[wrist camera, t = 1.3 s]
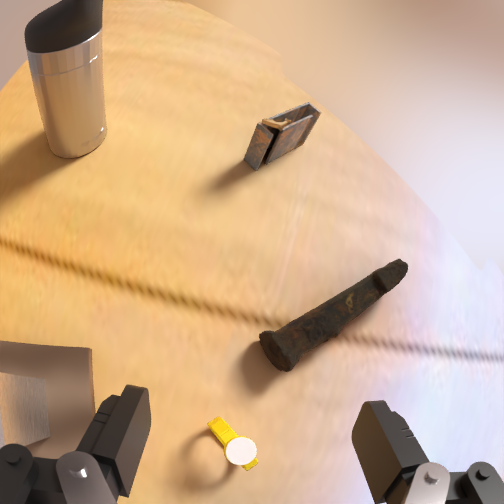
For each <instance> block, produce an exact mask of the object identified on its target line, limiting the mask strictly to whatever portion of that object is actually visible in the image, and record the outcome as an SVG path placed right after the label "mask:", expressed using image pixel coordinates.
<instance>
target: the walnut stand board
mask: <svg viewBox="0 0 504 504" xmlns="http://www.w3.org/2000/svg"><path fill="white" fill-rule="evenodd" d="M0 372H1V373H6V374H12V375H18V376H25V377H32V378H40V379H45V386H46V401H47V412H48V422H49V430H50V437H48V438H45V439H42V440H40V441H37V442H34V443H31V444H29V445H26V446H25V447H26V448H27V449H28V450H29V451H30V452H31V454H32V456H33V457H41V458H49V459H59V458H60V457H61V456H62V455H64V454H65V453H68V452H72V451H75V450H76V448H77V447H78V445H79V443H80V441H81V439H82V438H83V436H84V434H85V432H86V430H87V428H88V427H89V425H90V423H91V421H93V418H94V416H95V414H96V413H95V402H94V389H93V373H92V349H90V348H82V347H64V346H49V345H37V344H26V343H16V342H7V341H0Z"/></svg>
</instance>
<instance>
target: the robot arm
mask: <svg viewBox="0 0 504 504" xmlns="http://www.w3.org/2000/svg"><path fill="white" fill-rule="evenodd" d="M102 7H103V0H62V1H60V2H59V3H57V4H55V5H53V6H51V7H50V8H48V9H46V10H44V11H43V12H41V13H39V14H38V15H37V16H35V17H34V18H33V19H32V20H31V21H30V22H29V23H28V24H27V26H26V28H25V43H26V49H27V55H28V61H29V67H30V71H31V76H32V81H33V86H34V90H35V95H36V99H37V103H38V107H39V111H40V115H41V119H42V122H43V126H44V130H45V133H46V136H47V140H48V143H49V146H50V149H51V151H52V152H53V153H54V154H55V155H57V156H59V157H63V158H74V157H79V156H82V155H85V154H87V153H89V152H91V151H93V150H94V149H95V148H97V147H98V146H99V145H100V144H101V143H102V141H103V140H104V138H105V136H106V132H107V126H106V115H105V101H104V86H103V62H102ZM150 427H151V412H150V403H149V393H148V389H147V388H144V387H138V386H133V385H126V387H125V388H124V390H123V392H122V394H121V396H117V395H111V396H110V397H108V398H107V399H106V400H104V401H103V402H102V404H101V405H100V407H99V409H98V411H97V413H96V414H95V416H94V418H93V421H91V423H90V425H89V427H88V428H87V430H86V432H85V434H84V436H83V438H82V439H81V441H80V443H79V445H78V447H77V448H76V450H75V451H72V452H68V453H65V454H64V455H62V456H61V457H60V458H59V459H49V458H41V457H33V456H32V454H31V452H30V451H29V450H28V449H27V448H26V447H25V446H23V445H20V444H15V443H12V444H7V445H5V446H3V447H1V448H0V504H117V500H118V497H119V495H120V496H124V497H129V494H130V491H131V488H132V484H133V481H134V478H135V475H136V472H137V469H138V465H139V462H140V459H141V456H142V453H143V450H144V447H145V444H146V441H147V438H148V435H149V432H150ZM352 443H353V446H354V448H355V451H356V454H357V456H358V459H359V462H360V464H361V467H362V470H363V472H364V475H365V478H366V481H367V483H368V486H369V489H370V491H371V494H372V497H373V500H374V503H375V504H380V503H385V502H386V503H387V504H504V483H503V481H502V479H501V478H500V476H499V475H498V473H497V471H496V470H495V468H494V467H493V466H492V465H490V464H488V463H486V462H476V463H474V464H472V465H471V466H470V467H469V469H468V470H467V471H466V472H448V470H447V469H446V468H445V467H444V466H442V465H440V464H438V463H433V462H429V460H428V458H427V456H426V455H425V453H424V451H423V450H422V448H421V446H420V444H419V443H418V441H417V439H416V438H415V437H414V434H413V433H412V431H411V430H410V429H409V426H408V424H407V423H406V421H405V419H404V418H403V417H401V416H400V415H399V414H398V413H396V412H395V411H394V412H391V410H390V408H389V407H388V405H387V403H386V402H385V401H384V400H380V401H367V402H364V404H363V405H362V408H361V410H360V413H359V415H358V418H357V420H356V422H355V425H354V427H353V430H352Z"/></svg>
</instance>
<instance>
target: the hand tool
mask: <svg viewBox="0 0 504 504" xmlns="http://www.w3.org/2000/svg"><path fill="white" fill-rule="evenodd" d="M407 271H408V265H407V263H406V262H403V261H402V260H401V259H397V260H395V261H393V262H390V263H389V264H387V265H386V266H385V267H383V268H380V269H377V270H376V271H374V272H373V273H372V274H370V275H369V276H367V277H366V278H364V279H363V280H361V281H360V282H358V283H356V284H355V285H353V286H352V287H350V288H348V289H346V290H345V291H343V292H341V293H340V294H338V295H336V296H335V297H333V298H331V299H329V300H328V301H326V302H325V303H323V304H321V305H320V306H318V307H316V308H315V309H313V310H311V311H309V312H307V313H305V314H304V315H302V316H301V317H299V318H297V319H295V320H293V321H291V322H290V323H288V324H287V325H286V326H284V327H282V328H281V329H279V330H277V331H275V332H274V331H264V332H262V333H261V334H259V338H260V343H261V345H262V347H263V349H264V351H265V353H266V355H267V357H268V359H269V360H270V361H271V362H272V364H273V365H274V366H275V367H276V368H277V369H278V370H280V371H282V370H283V371H285V372H288V371H291V370H292V369H293V367H294V366H295V364H296V363H297V362H298V361H299V359H300V358H301V357H302V356H303V354H305V353H307V352H308V351H310V350H311V349H313V348H315V347H317V346H318V345H320V344H321V343H324V342H326V341H328V339H330V338H333V337H336V336H337V335H338V334H339V333H340V330H341V328H342V327H343V326H344V325H346V324H347V323H348V322H350V321H351V320H353V319H354V318H355V317H357V316H358V315H359V314H360V313H361V312H363V311H364V310H365V309H366V308H367V307H369V306H370V305H371V304H373V303H374V302H376V301H377V300H378V299H379V298H380V297H381V296H383V295H384V294H385V293H387V292H389V291H390V290H391V289H393V288H394V287H395V286H396V285H397V284H399V283H400V281H401V280H402V279H403V278H404V277H405V275H406V273H407Z"/></svg>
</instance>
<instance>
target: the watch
mask: <svg viewBox="0 0 504 504" xmlns="http://www.w3.org/2000/svg"><path fill="white" fill-rule="evenodd" d="M208 426H209V428H210V429H211V431H212V432H213V434H215V436H216V437H217V438H218V439H219V441H220V442H221V443H222V444H223V446H224V455H225V457H226V459H227V460H228V461H229V462H231V463H232V464H234V465H240V466H242V467H243V468H244V469H245V470H246V471H248V470H249V469H251V468H252V467H254V466H255V465H256V464H258V460H257V459H256V457H255V456H256V452H257V449H256V445H255V443H254V442H253V441H252V440H251V439H249V438H247V437H245V436H238V435H237V434H236V433H235V432H234V431H233V430H232V429H231V427H230V426H229V425H228V424H227V423H226V422H225V421H224V420H223V419H222V418H220V417H217V418H215V419H214V420H212V421H211V422H209V423H208Z"/></svg>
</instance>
